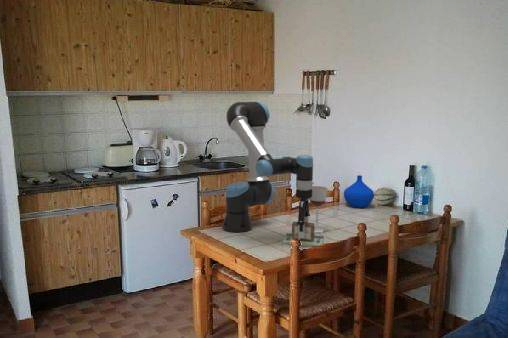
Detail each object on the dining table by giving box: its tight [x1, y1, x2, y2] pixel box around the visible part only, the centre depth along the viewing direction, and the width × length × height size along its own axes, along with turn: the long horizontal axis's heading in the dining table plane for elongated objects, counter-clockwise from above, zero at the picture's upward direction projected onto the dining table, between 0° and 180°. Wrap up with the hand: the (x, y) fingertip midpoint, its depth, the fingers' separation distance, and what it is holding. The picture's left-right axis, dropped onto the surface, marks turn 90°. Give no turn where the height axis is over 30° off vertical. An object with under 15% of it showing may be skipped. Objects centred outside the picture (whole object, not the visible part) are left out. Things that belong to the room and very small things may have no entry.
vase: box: [343, 174, 375, 209], centre depth 283 cm, size 18×18×19 cm
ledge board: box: [281, 232, 325, 247], centre depth 215 cm, size 18×12×2 cm, turn 76°
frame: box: [291, 221, 316, 242], centre depth 215 cm, size 10×4×8 cm, turn 76°
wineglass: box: [309, 185, 328, 233], centre depth 232 cm, size 9×10×22 cm
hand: (303, 233), depth 215 cm, fingers open, 12 cm apart
